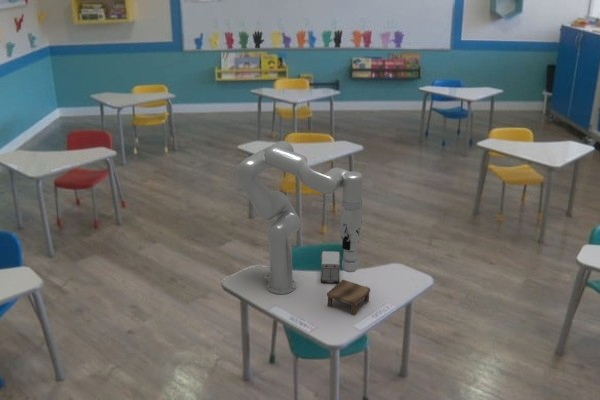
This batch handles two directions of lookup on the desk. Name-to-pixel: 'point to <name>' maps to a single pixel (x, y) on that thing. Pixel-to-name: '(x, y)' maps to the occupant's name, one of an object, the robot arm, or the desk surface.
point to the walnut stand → (348, 294)
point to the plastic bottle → (351, 254)
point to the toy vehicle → (330, 266)
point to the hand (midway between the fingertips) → (350, 245)
